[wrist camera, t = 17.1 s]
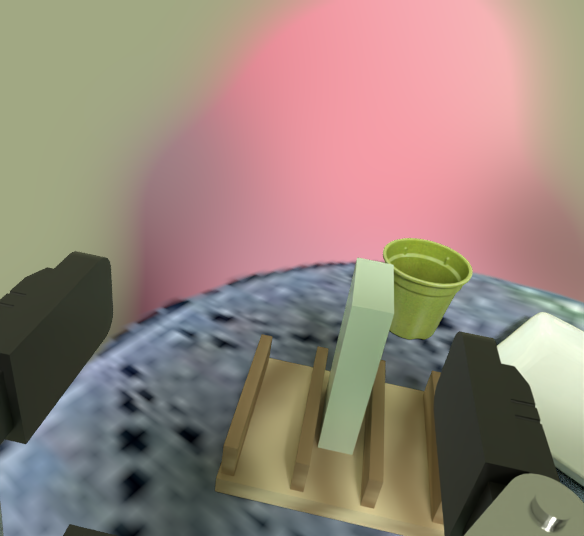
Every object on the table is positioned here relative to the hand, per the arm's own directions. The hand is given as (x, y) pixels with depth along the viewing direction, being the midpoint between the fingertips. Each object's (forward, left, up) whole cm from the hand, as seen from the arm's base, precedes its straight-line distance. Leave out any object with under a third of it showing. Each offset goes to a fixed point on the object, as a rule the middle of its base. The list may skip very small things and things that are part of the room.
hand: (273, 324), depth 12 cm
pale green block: (+8, -22, -26) cm, 35 cm away
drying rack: (+7, -21, -28) cm, 36 cm away
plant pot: (+11, -41, -28) cm, 51 cm away
